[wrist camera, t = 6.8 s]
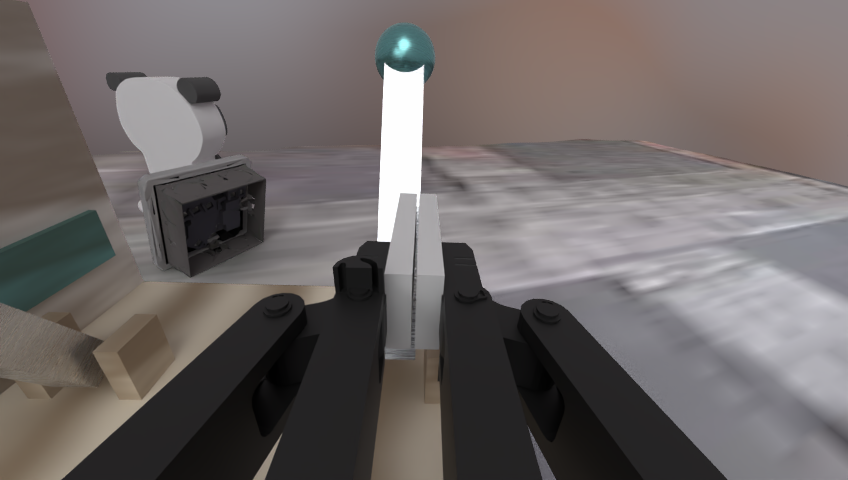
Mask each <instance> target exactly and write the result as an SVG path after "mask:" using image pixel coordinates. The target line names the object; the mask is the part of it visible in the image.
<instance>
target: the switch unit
mask: <svg viewBox="0 0 848 480" xmlns="http://www.w3.org/2000/svg"><path fill="white" fill-rule="evenodd" d="M279 293H293V294H296V295H299V296H300V297H301V298H302V299H303V300H304V303H305V305H308V304H314V303H319V302H323V301H327V300H329V299H332V298H334V295H335V286H297V285H259V284H220V283H182V282H144V281H143V279H142V276H141V274H140V272H139V269H138V267H137V264H136V262H135V260H134V257H133V255H132V252H131V250H130V247H129V245H128V243H127V240H126V238H125V235H124V233H123V231H122V228H121V226H120V223H119V221H118V218H117V216H116V214H115V211H114V209H113V206H112V204H111V202H110V199H109V197H108V194H107V192H106V189H105V187H104V185H103V182H102V180H101V177H100V175H99V173H98V170H97V168H96V165H95V163H94V160H93V158H92V156H91V153H90V151H89V149H88V146H87V144H86V141H85V139H84V136H83V134H82V131H81V129H80V127H79V124H78V122H77V119H76V117H75V115H74V112H73V110H72V107H71V105H70V103H69V101H68V98H67V95H66V93H65V91H64V88H63V86H62V83H61V81H60V78H59V76H58V74H57V71H56V69H55V66H54V64H53V61H52V59H51V57H50V54H49V52H48V49H47V47H46V45H45V42H44V40H43V37H42V35H41V32H40V30H39V28H38V25H37V23H36V20H35V18H34V16H33V13H32V11H31V8H30V6H29V4H28V2H22V1H16V0H0V303H3V304H5V305H8V306H11V307H14V308H16V309H19V310H22V311H24V312H27V313H30V314H33V315H35V316H38V317H41V318H43V319H46V320H49V321H52V322H54V323H57V324H60V325H62V326H65V327H68V328H71V329H73V330H76V331H79V332H81V333H84V334H87V335H89V336H92V337H95V338H98V339H100V340H103V341H104V342H103V343H102V344H101V345H99V346H98V347H97V348H96V349H95V350H94V351H93V352H92V353H93V354H94V356H95V358H96V360H97V361H98V363H99V365H100V367H101V368H102V370H103V372H104V374H105V375H104V377H103V379H102V381H101V383H100V385H99V387H50V386H44V385H39V384H33V383H28V382H22V381H17V380H11V379H6V378H0V480H61V479H63V478H64V477H65V476H66V475H67V474H68V473H69V472H70V471H71V470H73V469H74V468H75V467H76V466H77V465H78V464H79V463H80V462H81V461H82V460H84V459H85V458H86V457H87V456H88V455H89V454H90V453H91V452H92V451H93V450H95V449H96V448H97V447H98V446H99V445H100V444H101V443H102V442H103V441H104V440H106V439H107V438H108V437H109V436H110V435H111V434H112V433H113V432H114V431H116V430H117V429H118V428H119V427H120V426H121V425H122V424H123V423H124V422H125V421H127V420H128V419H129V418H130V417H131V416H132V415H133V414H134V413H135V412H136V411H138V410H139V409H140V408H141V407H142V406H143V405H144V404H145V403H146V402H147V401H149V400H150V399H151V398H152V397H153V396H154V395H155V394H156V393H157V392H159V391H160V390H161V389H162V388H163V387H164V386H165V385H166V384H167V383H168V382H170V381H171V380H172V379H173V378H174V377H175V376H176V375H177V374H178V373H179V372H181V371H182V370H183V369H184V368H185V367H186V366H187V365H188V364H189V363H190V362H192V361H193V360H194V359H195V358H196V357H197V356H198V355H199V354H200V353H202V352H203V351H204V350H205V349H206V348H207V347H208V346H209V345H210V344H211V343H213V342H214V341H215V340H216V339H217V338H218V337H219V336H220V335H221V334H222V333H224V332H225V331H226V330H227V329H228V328H229V327H230V326H231V325H232V324H233V323H235V322H236V321H237V320H238V319H239V318H240V317H241V316H242V315H243V314H245V313H246V312H247V311H248V310H249V309H250V308H251V307H252V306H253V305H254V304H256V303H257V302H259V301H260V300H262V299H263V298H265V297H268V296H270V295H273V294H279ZM439 354H440V345H439V350H432V349H416V351H415V360H390V359H385V366H384V375H383V383H382V391H381V400H380V408H379V416H378V424H377V433H376V441H375V449H374V458H373V466H372V474H371V480H443V462H442V435H441V408H440V382H439V381H437V380H438V367H439ZM281 435H282V434H281ZM280 438H281V436H280ZM280 438H279V439H278V441H277V442H276V444H275V445H274V447H273V449H272V450H271V452H270V453H269V455H268V457H267V458H266V460H265V461H264V463H263V464H262V466H261V468H260V469H259V471H258V472H257V474H256V475H255V477H254V479H253V480H265V478H266V475H267V472H268V470H269V467H270V464H271V462H272V459H273V456H274V454H275V451H276V448H277V446H278V443H279V441H280Z"/></svg>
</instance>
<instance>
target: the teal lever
mask: <svg viewBox="0 0 848 480" xmlns="http://www.w3.org/2000/svg"><path fill="white" fill-rule="evenodd" d="M375 61H376V66H377V70H378V72H379V74H380V76H381V77H382V79H383V80H384V90H383V91H384V92H383V114H382V140H381V165H380V190H379V216H378V241H382V242H391V237H392V232H393V227H394V222H395V216H396V211H397V206H398V201H399V196H400V193H415V194H417V214H416V249H415V269H414V289H413V310H412V330H411V349H393V348H386V344H385V359H390V360H415V351H416V349H415V316H416V283H417V254H418V225H419V196H420V184H421V151H422V116H423V84H424V83H425V82H426V81H427V80H428V79H429V77H430V76H431V74H432V71H433V68H434V64H435V52H434V47H433V44H432V41H431V40H430V38H429V36H428V35H427V34H426V32H424V31H423V30H422V29H421V28H420V27H418V26H416V25H414V24H411V23H398V24H395V25H392V26H391V27H389V28H388V29H386V30H385V31H384V33H383V34H382V35H381V37H380V38H379V40H378V42H377V45H376V50H375Z"/></svg>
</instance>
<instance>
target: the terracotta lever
mask: <svg viewBox="0 0 848 480" xmlns="http://www.w3.org/2000/svg"><path fill="white" fill-rule="evenodd" d="M103 342H104V341H103V340H100V339H98V338H95V337H92V336H89V335H87V334H84V333H81V332H79V331H76V330H73V329H71V328H68V327H65V326H62V325H60V324H57V323H54V322H52V321H49V320H46V319H43V318H41V317H38V316H35V315H33V314H30V313H27V312H24V311H22V310H19V309H16V308H14V307H11V306H8V305H5V304H3V303H0V378H6V379H11V380H17V381H22V382H28V383H33V384H39V385H44V386H50V387H99V385H100V383H101V381H102V379H103V377H104V375H105V374H104V372H103V370H102V368H101V367H100V365H99V363H98V361H97V360H96V358H95V356H94V354H93V353H92V352H93V351H94V350H95V349H96V348H97V347H98V346H99V345H101V344H102V343H103Z"/></svg>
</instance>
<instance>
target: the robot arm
mask: <svg viewBox="0 0 848 480" xmlns="http://www.w3.org/2000/svg"><path fill="white" fill-rule="evenodd" d="M416 214H417V194H415V193H400V196H399V201H398V206H397V211H396V216H395V222H394V227H393V232H392V237H391V242H382V241H367V242H366V243H364V244H363V245H362V246H361V247H359V250H358V253H357V256H351V257H347V258H343V259H342V260H340V261H338V262H337V263H336V264H335V265H334V266H333V274H334V283H335V295H334V298H332V299H329V300H327V301H323V302H319V303H314V304H308V305H305V303H304V300H303V299H302V298H301V297H300V296H299V295H296V294H293V293H279V294H273V295H270V296H268V297H265V298H263V299H262V300H260V301H259V302H257V303H256V304H254V305H253V306H252V307H251V308H250V309H249V310H248V311H247V312H246V313H245V314H243V315H242V316H241V317H240V318H239V319H238V320H237V321H236V322H235V323H233V324H232V325H231V326H230V327H229V328H228V329H227V330H226V331H225V332H224V333H222V334H221V335H220V336H219V337H218V338H217V339H216V340H215V341H214V342H213V343H211V344H210V345H209V346H208V347H207V348H206V349H205V350H204V351H203V352H202V353H200V354H199V355H198V356H197V357H196V358H195V359H194V360H193V361H192V362H190V363H189V364H188V365H187V366H186V367H185V368H184V369H183V370H182V371H181V372H179V373H178V374H177V375H176V376H175V377H174V378H173V379H172V380H171V381H170V382H168V383H167V384H166V385H165V386H164V387H163V388H162V389H161V390H160V391H159V392H157V393H156V394H155V395H154V396H153V397H152V398H151V399H150V400H149V401H147V402H146V403H145V404H144V405H143V406H142V407H141V408H140V409H139V410H138V411H136V412H135V413H134V414H133V415H132V416H131V417H130V418H129V419H128V420H127V421H125V422H124V423H123V424H122V425H121V426H120V427H119V428H118V429H117V430H116V431H114V432H113V433H112V434H111V435H110V436H109V437H108V438H107V439H106V440H104V441H103V442H102V443H101V444H100V445H99V446H98V447H97V448H96V449H95V450H93V451H92V452H91V453H90V454H89V455H88V456H87V457H86V458H85V459H84V460H82V461H81V462H80V463H79V464H78V465H77V466H76V467H75V468H74V469H73V470H71V471H70V472H69V473H68V474H67V475H66V476H65V477H64V478H63V479H61V480H253V479H254V477H255V475H256V474H257V472H258V471H259V469H260V468H261V466H262V464H263V463H264V461H265V460H266V458H267V457H268V455H269V453H270V452H271V450H272V449H273V447H274V445H275V444H276V442H277V441H278V439H279V438H280V436H281V438H280V441H279V443H278V446H277V448H276V451H275V454H274V456H273V459H272V462H271V464H270V467H269V470H268V472H267V475H266V478H265V480H371V474H372V466H373V458H374V449H375V441H376V433H377V424H378V416H379V408H380V400H381V391H382V383H383V375H384V366H385V344H386V348H393V349H411V330H412V310H413V289H414V269H415V249H416ZM439 345H440V354H439V367H438V380H437V381H439V382H440V408H441V435H442V462H443V480H542V477H541V473H540V469H539V466H538V462H537V459H536V455H535V451H534V448H533V444H532V441H531V437H530V433H529V430H528V427H529V429H530V431H531V433H532V435H533V436H534V438H535V440H536V442H537V444H538V446H539V448H540V450H541V451H542V453H543V455H544V457H545V459H546V461H547V463H548V465H549V467H550V468H551V470H552V472H553V474H554V476H555V478H556V480H727V479H726V477H725V476H724V475H723V474H722V473H721V472H720V471H719V470H718V469H717V468H716V467H715V466H714V465H713V464H712V463H711V462H710V460H709V459H708V458H707V457H706V456H705V455H704V454H703V453H702V452H701V451H700V450H699V449H698V448H697V447H696V446H695V445H694V444H693V442H692V441H691V440H690V439H689V438H688V437H687V436H686V435H685V434H684V433H683V432H682V431H681V430H680V429H679V428H678V427H677V426H676V424H675V423H674V422H673V421H672V420H671V419H670V418H669V417H668V416H667V415H666V414H665V413H664V412H663V411H662V410H661V409H660V407H659V406H658V405H657V404H656V403H655V402H654V401H653V400H652V399H651V398H650V397H649V396H648V395H647V394H646V393H645V392H644V391H643V389H642V388H641V387H640V386H639V385H638V384H637V383H636V382H635V381H634V380H633V379H632V378H631V377H630V376H629V375H628V374H627V372H626V371H625V370H624V369H623V368H622V367H621V366H620V365H619V364H618V363H617V362H616V361H615V360H614V359H613V358H612V357H611V356H610V354H609V353H608V352H607V351H606V350H605V349H604V348H603V347H602V346H601V345H600V344H599V343H598V342H597V341H596V340H595V339H594V337H593V336H592V335H591V334H590V333H589V332H588V331H587V330H586V329H585V328H584V327H583V326H582V325H581V324H580V323H579V322H578V321H577V319H576V318H575V317H574V316H573V315H572V314H571V313H570V312H569V311H568V310H567V309H565V308H564V307H563V306H561V305H559V304H557V303H555V302H553V301H549V300H545V299H532V300H528V301H526V302H525V303H524V304H522V306H521V310H519V309H515V308H511V307H507V306H503V305H500V304H498V303H496V302H494V301H493V300H492V297H491V295H490V293H489V292H488V291H487V290H486V289H485V288H483V287H482V284H481V280H480V276H479V273H478V269H477V266H476V261H475V257H474V254H473V250H472V249H471V248H470V247H469V246H468V245H467V244H466V243H445V242H441V234H440V224H439V214H438V204H437V194H420V196H419V225H418V254H417V283H416V316H415V349H432V350H439ZM527 425H528V426H527ZM281 434H282V435H281Z"/></svg>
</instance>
